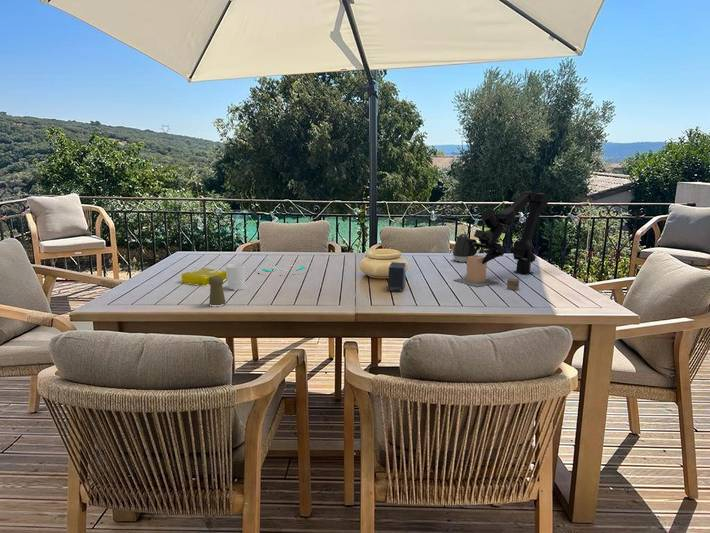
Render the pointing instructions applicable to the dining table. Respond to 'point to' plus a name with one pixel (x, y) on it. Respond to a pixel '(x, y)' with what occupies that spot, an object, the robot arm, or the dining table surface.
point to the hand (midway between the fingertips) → (474, 261)
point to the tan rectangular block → (476, 269)
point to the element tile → (202, 276)
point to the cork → (216, 290)
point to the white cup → (236, 276)
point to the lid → (281, 268)
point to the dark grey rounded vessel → (461, 248)
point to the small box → (396, 276)
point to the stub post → (512, 284)
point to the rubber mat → (487, 282)
